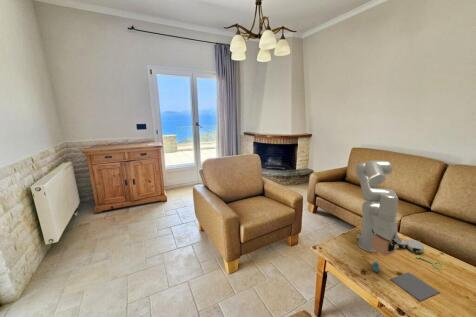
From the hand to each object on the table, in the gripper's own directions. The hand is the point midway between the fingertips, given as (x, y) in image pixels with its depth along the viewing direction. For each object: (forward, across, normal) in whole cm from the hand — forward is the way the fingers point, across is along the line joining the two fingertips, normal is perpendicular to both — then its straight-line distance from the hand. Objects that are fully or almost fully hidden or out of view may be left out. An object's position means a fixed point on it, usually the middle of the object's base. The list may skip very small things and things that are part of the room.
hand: (383, 246), depth 111 cm
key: (+17, +5, +33) cm, 38 cm away
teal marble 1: (+14, -2, +1) cm, 15 cm away
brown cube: (+2, 0, 0) cm, 2 cm away
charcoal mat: (+16, +13, +6) cm, 21 cm away
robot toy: (+16, -9, +36) cm, 41 cm away
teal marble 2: (+14, +1, -2) cm, 14 cm away
